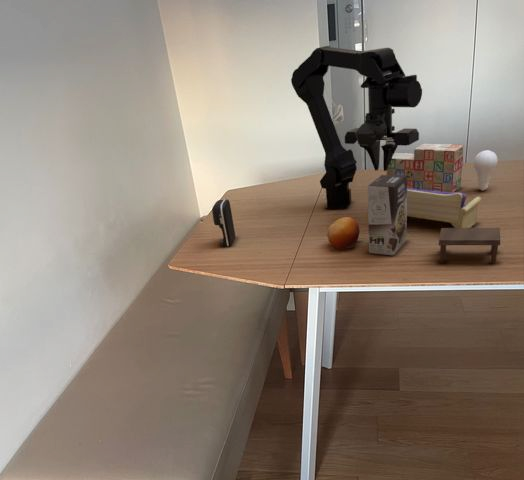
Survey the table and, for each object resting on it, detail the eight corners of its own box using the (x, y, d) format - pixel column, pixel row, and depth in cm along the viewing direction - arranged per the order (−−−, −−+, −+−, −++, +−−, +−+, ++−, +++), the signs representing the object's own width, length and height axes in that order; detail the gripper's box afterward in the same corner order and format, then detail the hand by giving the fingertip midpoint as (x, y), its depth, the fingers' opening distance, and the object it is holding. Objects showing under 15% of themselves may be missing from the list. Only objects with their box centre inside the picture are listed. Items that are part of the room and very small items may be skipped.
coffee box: (394, 256, 120) (394, 186, 111) (368, 253, 123) (366, 185, 114) (407, 241, 126) (408, 174, 117) (382, 239, 129) (381, 173, 120)
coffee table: (437, 263, 113) (439, 240, 110) (440, 250, 118) (441, 228, 115) (497, 264, 109) (500, 240, 106) (497, 251, 114) (499, 227, 111)
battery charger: (223, 238, 145) (215, 198, 139) (236, 237, 144) (229, 196, 138) (217, 248, 139) (209, 206, 133) (231, 247, 139) (223, 205, 133)
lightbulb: (470, 193, 147) (473, 154, 141) (472, 187, 152) (475, 148, 146) (494, 193, 145) (498, 152, 139) (494, 186, 149) (498, 147, 143)
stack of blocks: (386, 188, 162) (385, 147, 155) (395, 182, 165) (395, 142, 159) (452, 194, 149) (455, 150, 142) (461, 187, 153) (464, 144, 146)
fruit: (367, 245, 123) (348, 218, 121) (339, 262, 127) (320, 236, 124) (368, 232, 130) (350, 207, 127) (342, 249, 134) (324, 224, 131)
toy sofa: (479, 223, 128) (483, 182, 123) (463, 236, 124) (467, 193, 118) (404, 213, 142) (404, 175, 136) (387, 224, 137) (387, 185, 131)
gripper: (330, 114, 130) (334, 176, 138) (397, 113, 118) (397, 182, 127) (355, 104, 136) (357, 165, 145) (420, 103, 125) (419, 169, 133)
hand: (381, 170), depth 137 cm, fingers closed
